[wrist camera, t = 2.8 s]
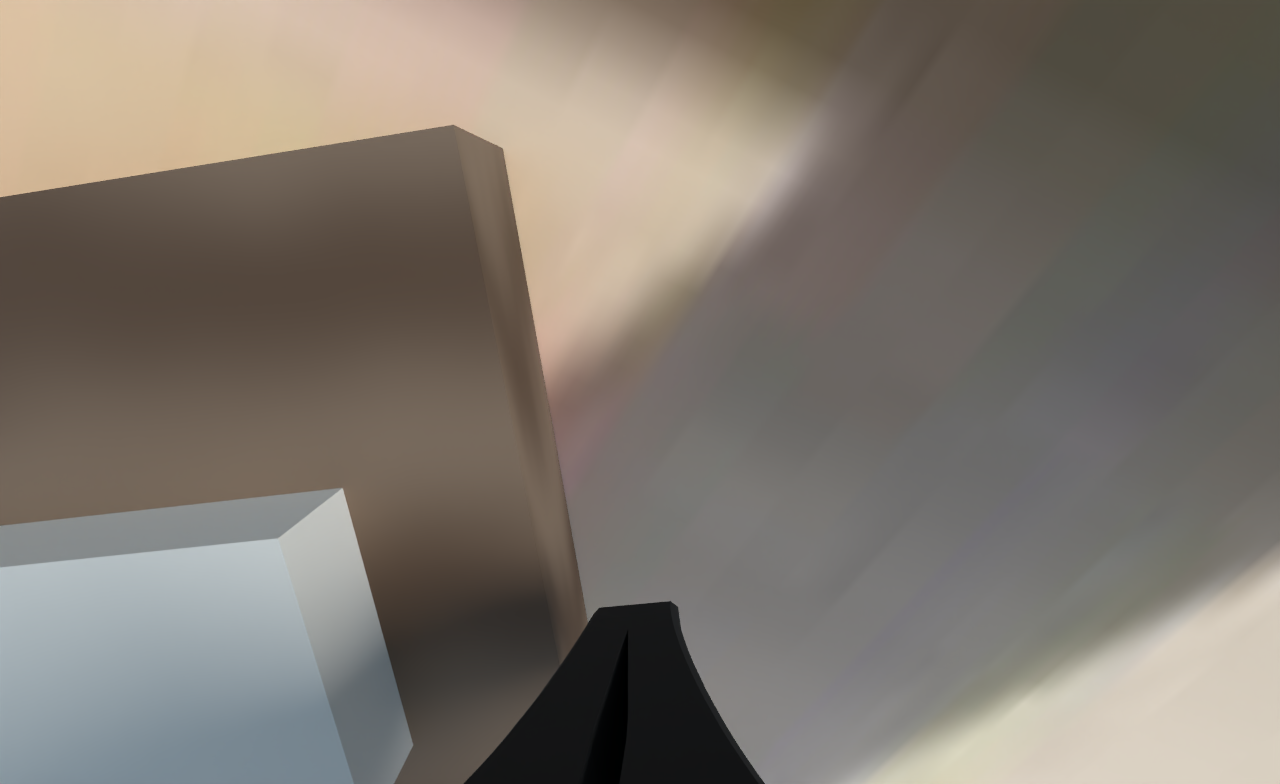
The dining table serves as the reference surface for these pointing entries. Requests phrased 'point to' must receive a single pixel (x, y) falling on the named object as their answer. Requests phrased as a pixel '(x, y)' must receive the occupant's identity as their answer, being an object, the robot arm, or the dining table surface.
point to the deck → (312, 392)
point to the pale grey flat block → (195, 649)
